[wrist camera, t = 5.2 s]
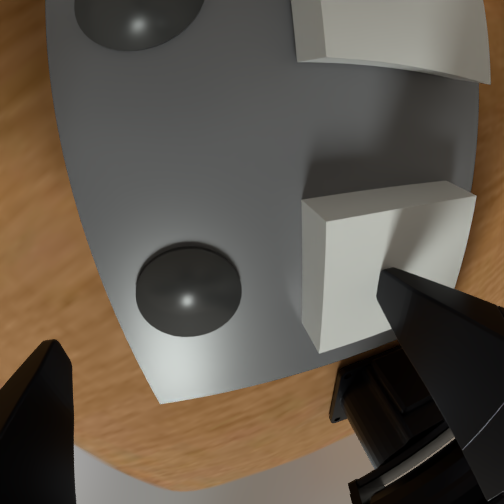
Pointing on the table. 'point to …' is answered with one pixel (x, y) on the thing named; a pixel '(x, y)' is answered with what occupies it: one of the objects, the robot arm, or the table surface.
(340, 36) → the middle button
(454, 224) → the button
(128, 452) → the table surface
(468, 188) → the control panel
